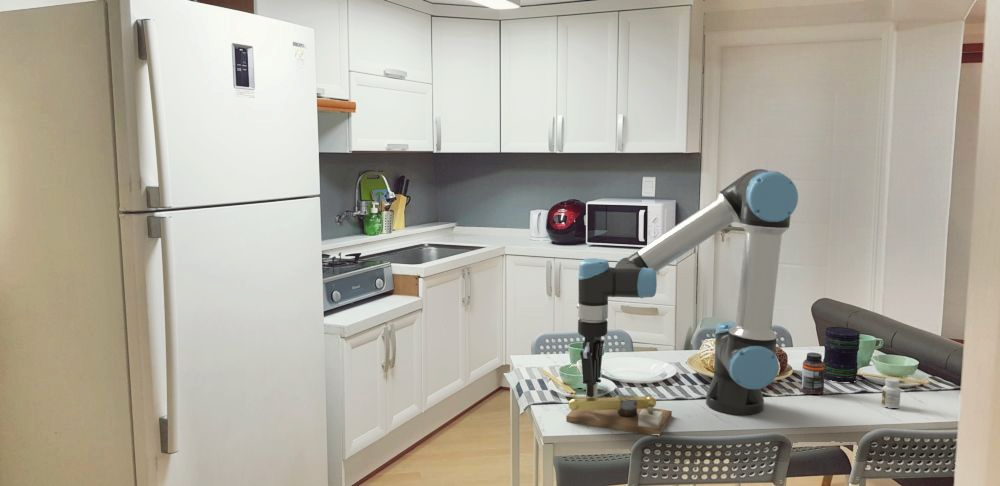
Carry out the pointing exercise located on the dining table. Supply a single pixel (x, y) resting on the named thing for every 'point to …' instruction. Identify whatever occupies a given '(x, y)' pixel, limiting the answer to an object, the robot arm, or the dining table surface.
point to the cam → (613, 404)
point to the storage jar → (841, 354)
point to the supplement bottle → (813, 374)
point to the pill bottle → (891, 393)
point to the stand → (624, 420)
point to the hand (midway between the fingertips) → (591, 407)
